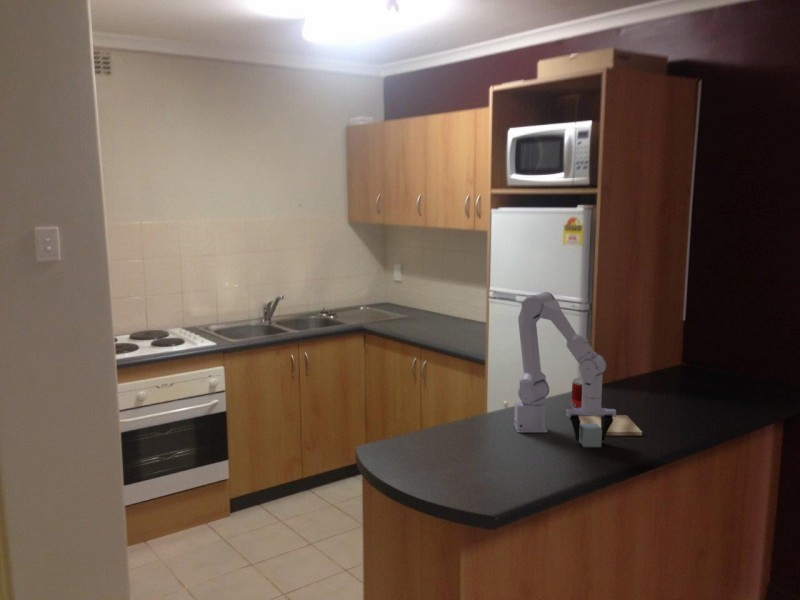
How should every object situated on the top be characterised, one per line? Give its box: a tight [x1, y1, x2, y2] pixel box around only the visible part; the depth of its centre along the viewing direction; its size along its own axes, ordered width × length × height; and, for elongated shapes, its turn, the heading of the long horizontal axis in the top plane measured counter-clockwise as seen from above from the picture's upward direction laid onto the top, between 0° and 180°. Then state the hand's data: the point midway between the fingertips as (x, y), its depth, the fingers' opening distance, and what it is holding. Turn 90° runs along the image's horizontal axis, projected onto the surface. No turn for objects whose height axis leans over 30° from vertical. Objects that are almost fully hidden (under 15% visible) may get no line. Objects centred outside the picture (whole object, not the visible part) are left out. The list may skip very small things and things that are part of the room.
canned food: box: [570, 377, 583, 409], centre depth 244 cm, size 8×8×11 cm
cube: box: [578, 424, 603, 448], centre depth 215 cm, size 6×6×6 cm
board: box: [579, 414, 643, 437], centre depth 230 cm, size 18×16×1 cm
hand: (589, 439), depth 215 cm, fingers open, 7 cm apart
